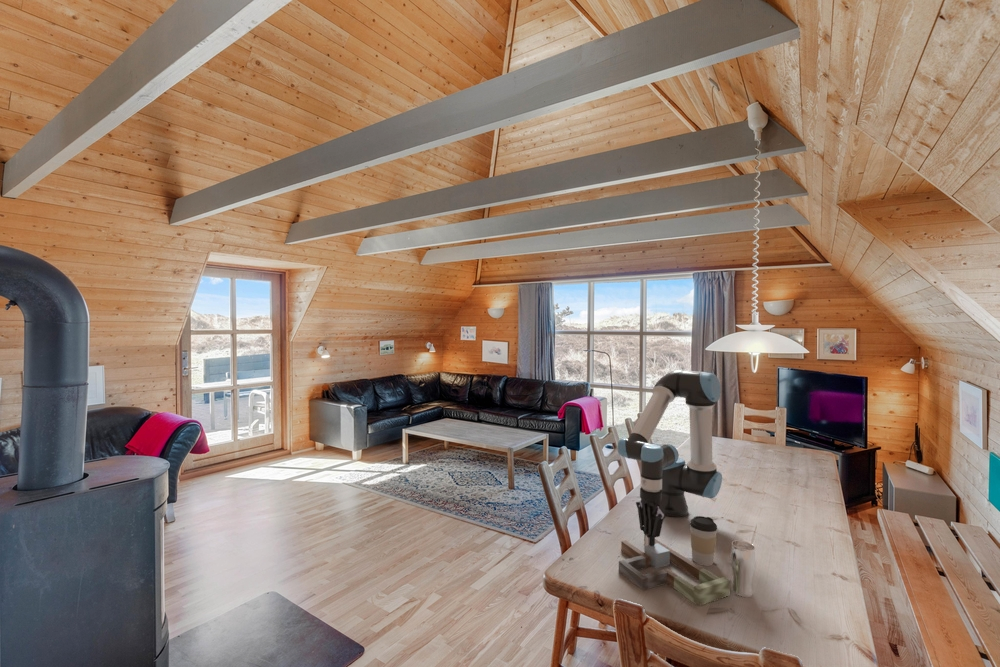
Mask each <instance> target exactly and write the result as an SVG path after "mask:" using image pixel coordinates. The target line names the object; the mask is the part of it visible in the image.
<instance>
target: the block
mask: <svg viewBox="0 0 1000 667" xmlns="http://www.w3.org/2000/svg"><path fill="white" fill-rule="evenodd" d="M644 553H645V554H647V555H648V556H650V566H653V567H654V568H655V569H659V568H663V567H667V566H669V565H671V564H670V563H671V562H670V550H668V549H666V548H665V547H663V546H662V545H660V544H658V543H656V544H655V545H654V546H650V545H647V546H645V545H644Z"/></svg>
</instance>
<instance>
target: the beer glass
mask: <svg viewBox="0 0 1000 667" xmlns="http://www.w3.org/2000/svg"><path fill="white" fill-rule="evenodd" d="M730 566H731V572H732V584H731V586H730V589H731V590H730V591H731V592H732V591H733V592H734V593H733V592H732V593H733V594H735V595H736V594H737V595H736V596H738V595H739V596H738V597H741V596H742V598H751V597H753V595H754V592H753V588H752V583H753V578H754V573H755V568H756V547H755V545H754V544H753V543H750V542H748V541H744V540H737V539H736V540H732V542H731V547H730Z"/></svg>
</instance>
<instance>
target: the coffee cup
mask: <svg viewBox="0 0 1000 667" xmlns="http://www.w3.org/2000/svg"><path fill="white" fill-rule="evenodd" d="M689 525H690V531H689V532H690V545H691V546H690V547H691V558H692V562H693V563H695V564H697V565H700V566H701V565H702V566H705V567H706V566H712V565H713V564H714V556H715V551H716V544H717V532H718V525H717V524H716V523H715V521H714V519H713V518H711V517H709V516H700V515H699V516H698V515H697V516H694V517H693V518H692V519H690V522H689Z"/></svg>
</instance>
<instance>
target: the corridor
mask: <svg viewBox="0 0 1000 667" xmlns="http://www.w3.org/2000/svg"><path fill="white" fill-rule="evenodd" d="M643 541H644V540H643ZM620 542H621V543H620V544H621V546H620V550H621V552H623V553H624V554H626V556H628V557H630V558H625V559H622V560H619V561H618V572H619V573H620V574H621V575H623V576H624V577H625V578H627V580H629V581H630V582H632V583H633V584H634V585H636V586H637V587H638V588H640V589H641V590H642V591H646V590H649V589H653V588H655V587H659V586H663V585H666V584H667V585H669V586H670V587H671V588H673V589H675V590H676V591H677V592H679V594H681V595H683V596H684V597H686V598H687V599H688V600H690V601H691V602H692V603H694V604H695V603H696V605H697V606H698V605H699V606H698V607H701V606H703V604H704V605H706V603H707V604H709V603H708V602H710V603H712V602H711V601H713V602H715V601H714V600H716V601H718V600H717V599H719V600H721V599H720V598H722V599H724V598H723V597H725V598H727V597H726V596H728V597H730V596H729V595H731V594H730V591H731V590H730V589H731V580H730V579H729V578H727V577H726V576H723V577H718V576H717V575H715V574H713V573H712V572H710V571H709V570H707V569H705V568H703V567H702V566H701V565H699V564H698V563H696V562H694V561H693V560H690V559H688V558H687V557H685V556H683V555H682V554H680V553H679V552H677V551H676V550H674V549H672V548H670V547H669V546H667V545H665V544H664V543H663V542H660V541H659V540H658V539H656V538H655V544H656V543H658V544H660V545H662V546H663V547H665V548H666V549H668V550H670V563H672V564H673V565H674V566H675V567H676V566H677V567H678V569H680V570H682V571H684V572H685V573H687V574H688V575H689V576H692V577H693V578H695V579H696V580H698V582H701V583H700V584H697V585H694V584H692V583H690V582H689V581H687V580H686V579H685V578H683V577H682V576H680V575H678V574H676V573H675V572H673V571H672V570H671V569H670V568H663V569H660V570H657V571H652V572H649V573H646V574H643V573H642V572H641V570H643V569H647V568H650V567H651V564H650V556H648V555H647V554H645V551H642V550H641V549H639V548H638V547H636V546H635V545H633V544H632V543H630V542H629V541H628V540H621V541H620ZM643 546H645V541H644V544H643ZM700 605H701V606H700Z"/></svg>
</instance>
